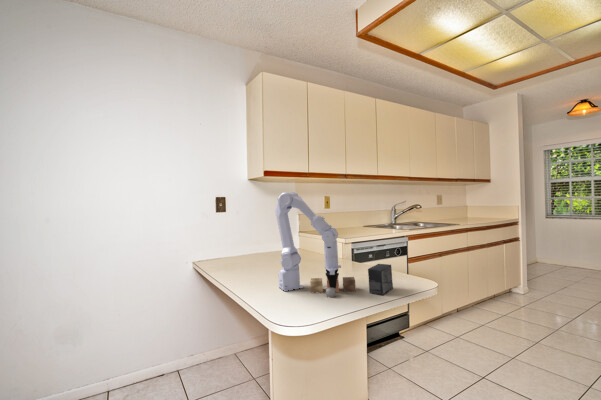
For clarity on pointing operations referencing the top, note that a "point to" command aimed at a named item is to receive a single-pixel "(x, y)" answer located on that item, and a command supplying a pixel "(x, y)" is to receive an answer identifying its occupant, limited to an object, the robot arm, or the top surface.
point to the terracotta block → (336, 285)
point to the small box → (380, 279)
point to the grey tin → (330, 292)
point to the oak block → (316, 285)
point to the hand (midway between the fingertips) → (332, 287)
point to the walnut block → (349, 284)
